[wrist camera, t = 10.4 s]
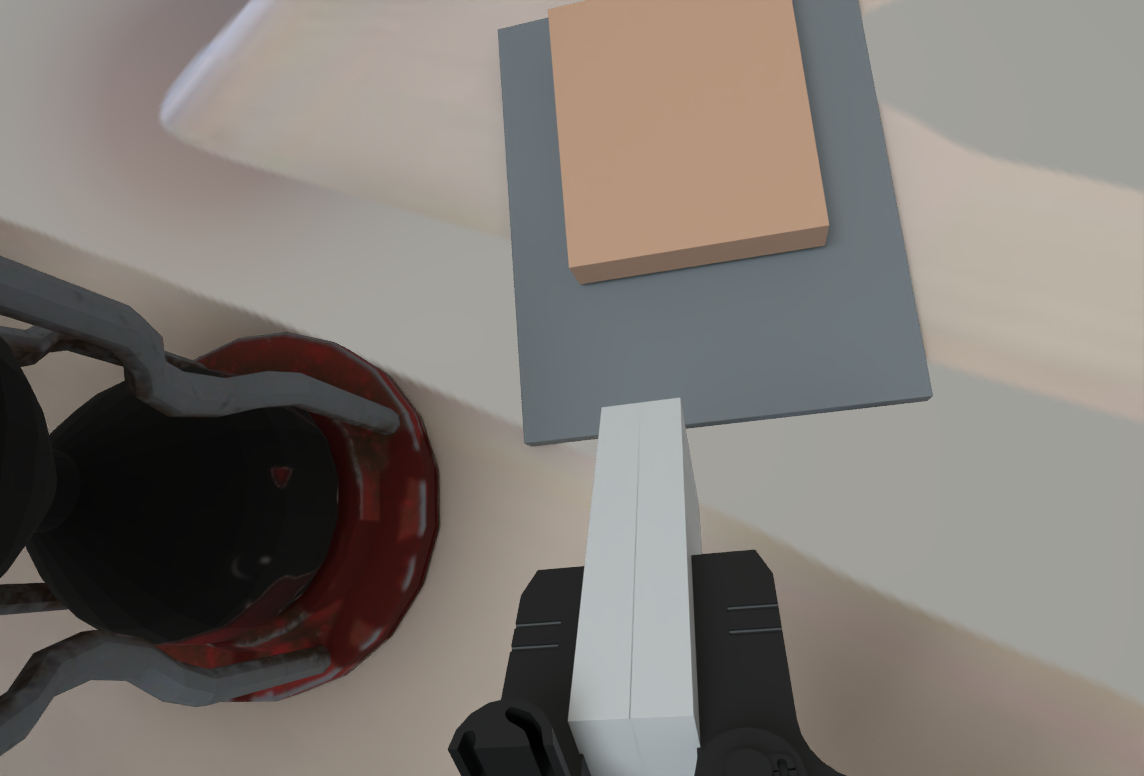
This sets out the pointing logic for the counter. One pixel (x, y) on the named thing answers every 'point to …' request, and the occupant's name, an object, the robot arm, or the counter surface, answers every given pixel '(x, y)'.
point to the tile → (682, 134)
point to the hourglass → (204, 508)
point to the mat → (717, 273)
